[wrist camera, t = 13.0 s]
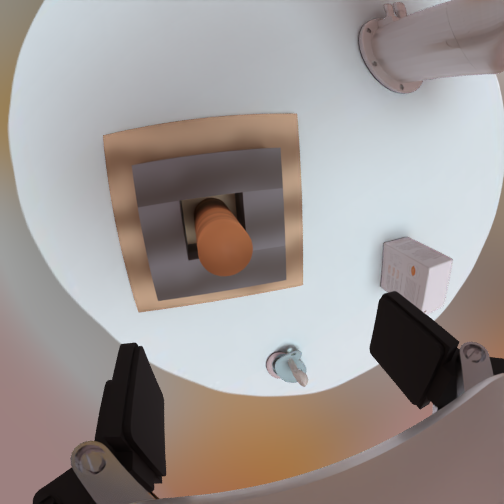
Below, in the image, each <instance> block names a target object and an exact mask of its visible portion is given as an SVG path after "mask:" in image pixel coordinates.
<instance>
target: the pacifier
mask: <svg viewBox="0 0 504 504" xmlns="http://www.w3.org/2000/svg"><path fill="white" fill-rule="evenodd" d="M293 353H295V354H293ZM301 355H302V353H301V352H300V351H299V350H296V351H292V352H289V353H283V352H277V353H274V354H272V355H271V356H270V357H269V359H268V361H267V370H268V372H269V373H270V374H271V375H272V376H273V377H275V378H281V379H282V380H284V381H286V382H291V383H295V382H298V383H299V384H300V385H302V386H303V387H305V386H306V385H307V383H308V378H307V375H306V367H305V365H304V363H303V362H302V361H300V360H299V359H300V357H301ZM278 357H280V358H279V359H278V360H277V361H276V363H275V371H276V372H275V371H274V370H273V369H272V364H273V361H274V360H275V359H276V358H278ZM299 368H300V369H301V370H298V369H299Z"/></svg>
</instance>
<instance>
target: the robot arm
mask: <svg viewBox="0 0 504 504" xmlns="http://www.w3.org/2000/svg"><path fill="white" fill-rule="evenodd" d="M393 7H394V10H393ZM393 7H392V5H391V4H384V9H385V12H386V15H387V16H386V17H385V19H383V18H377V19H373V20H371V21H369V22H367V23H366V24H365V25H364V26H363V27H362V29H361V31H360V35H359V45H360V50H361V53H362V57H363V59H364V61H365V63H366V65H367V67H368V68H369V70H370V71H371V73H372V74H373V75H374V76H375V78H376V79H377V80H378V81H379V82H380V83H382V84H383V85H384V86H386V87H387V88H388V89H390V90H392V91H395V92H398V93H410V92H413V91H416V90H417V89H418V88H419V87H420V86H421V84H422V82H423V80H428V79H436V78H444V77H454V76H466V75H482V74H497V73H501V72H503V71H504V0H451V1H448V2H445V3H441V4H438V5H435V6H432V7H429V8H426V9H424V10H421V11H418V12H415V13H413V14H410V15H408V16H407V12H406V8H405V5H404V4H403V3H400V2H396V3H394V4H393ZM394 11H395V14H396V16H397V17H396V16H394ZM458 344H459V341H458V340H456V339H455V338H454V337H453V336H452V335H450V334H449V333H448V332H447V331H445V329H443V328H442V327H441V326H439V325H438V324H437V323H436V322H435V321H434V320H432V319H431V318H430V317H429V316H427V315H426V314H425V313H424V312H422V311H421V310H420V309H419V308H417V307H416V306H415V305H414V304H412V303H411V302H410V301H409V300H407V299H406V298H405V297H403V296H402V295H401V294H400V293H398V292H397V291H392V292H389V293H385V294H383V295H382V297H381V299H380V300H379V303H378V309H377V315H376V320H375V325H374V330H373V335H372V339H371V344H370V353H371V355H372V356H373V357H374V358H375V359H376V361H377V362H378V363H379V364H380V365H381V367H382V368H383V369H384V370H385V371H386V373H387V374H388V375H389V376H390V377H391V379H392V380H393V381H394V382H395V383H396V385H397V386H398V387H399V388H400V389H401V391H402V392H403V393H404V394H405V395H406V397H407V398H408V399H409V400H410V402H412V404H414V405H417V407H418V408H419V409H422V408H423V407H425V406H426V405H428V404H429V403H430V401H431V402H432V403H433V414H432V415H431V416H429V417H428V418H426V419H424V420H423V421H421V422H419V423H418V424H416V425H414V426H413V427H411V428H409V429H407V430H406V431H404V432H402V433H400V434H398V435H396V436H394V437H393V438H391V439H389V440H387V441H385V442H383V443H381V444H379V445H377V446H375V447H372V448H371V449H368V450H366V451H364V452H361V453H359V454H357V455H354V456H352V457H350V458H347V459H345V460H342V461H340V462H337V463H334V464H332V465H329V466H326V467H323V468H320V469H317V470H315V471H311V472H309V473H305V474H302V475H299V476H296V477H292V478H288V479H285V480H281V481H277V482H273V483H269V484H265V485H260V486H255V487H250V488H244V489H239V490H233V491H227V492H221V493H213V494H205V495H196V496H185V497H176V498H163V499H159V498H158V497H157V496H156V495H155V494H154V493H153V492H152V491H153V490H154V483H162V476H166V460H165V436H164V398H163V394H162V392H161V390H160V387H159V385H158V383H157V381H156V378H155V376H154V374H153V371H152V369H151V366H150V364H149V361H148V359H147V356H146V354H145V351H144V349H143V347H142V346H138V345H137V343H127V344H121V345H120V348H119V352H118V357H117V360H116V365H115V369H114V374H113V378H112V380H108V381H107V382H106V384H105V388H104V392H103V397H102V402H101V407H100V412H99V417H98V424H97V429H96V434H95V441H86V442H83V443H81V444H80V445H78V446H77V447H76V448H75V449H74V451H73V452H72V455H71V466H72V468H70V469H69V470H67V471H66V472H65V473H63V474H62V475H61V476H59V477H58V478H56V479H55V480H53V481H52V482H50V483H49V484H47V485H46V486H44V487H43V488H41V489H40V490H39V491H38V492H37V493H36V494H35V496H34V498H33V504H504V359H502V358H493V357H489V354H488V351H487V350H486V349H485V347H483V346H482V345H480V344H478V343H476V342H467V343H464V344H463V345H461V348H460V349H458V348H457V346H458Z"/></svg>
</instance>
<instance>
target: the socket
mask: <svg viewBox="0 0 504 504" xmlns="http://www.w3.org/2000/svg"><path fill="white" fill-rule="evenodd" d="M103 141H104V151H105V159H106V167H107V175H108V182H109V188H110V195H111V201H112V206H113V212H114V217H115V222H116V227H117V232H118V237H119V241H120V246H121V250H122V254H123V258H124V262H125V266H126V270H127V274H128V278H129V281H130V285H131V288H132V292H133V295H134V299H135V302H136V305H137V309H138V312H145V311H153V310H160V309H167V308H174V307H181V306H187V305H194V304H200V303H207V302H213V301H219V300H225V299H231V298H237V297H242V296H248V295H254V294H259V293H265V292H270V291H275V290H280V289H286V288H291V287H296V286H301V285H303V225H302V191H301V168H300V150H299V134H298V120H297V114H251V115H233V116H220V117H209V118H200V119H191V120H183V121H176V122H169V123H163V124H157V125H151V126H145V127H140V128H135V129H130V130H125V131H121V132H116V133H112V134H108V135H103ZM206 198H217V199H220V200H221V201H223V202H224V203H225V204H226V206H227V207H228V208H229V210H230V211H231V212H232V214H233V215H234V216H235V218H236V219H237V220H238V222H239V223H240V224H241V226H242V227H243V228H244V230H245V231H246V232H247V234H248V235H249V237H250V238H251V241H252V245H253V253H252V257H251V260H250V261H249V263H248V265H247V266H246V267H245V268H244V269H243V270H242V271H240V272H239V273H237V274H234V275H231V276H218V275H214V274H212V273H210V272H209V271H207V270H206V269H205V268H204V267H203V265H202V264H201V262H200V260H199V256H198V249H197V241H196V232H195V224H194V210H195V208H196V206H197V205H198V204H199V203H200V202H201V201H202V200H204V199H206Z"/></svg>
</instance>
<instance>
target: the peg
mask: <svg viewBox="0 0 504 504" xmlns="http://www.w3.org/2000/svg"><path fill="white" fill-rule="evenodd" d="M194 224H195V232H196V241H197V249H198V256H199V260H200V262H201V264H202V265H203V267H204V268H205V269H206V270H207V271H209V272H210V273H212V274H214V275H218V276H231V275H234V274H237V273H239V272H240V271H242V270H243V269H244V268H245V267H246V266H247V265H248V263H249V261H250V260H251V257H252V253H253V245H252V241H251V238H250V237H249V235H248V234H247V232H246V231H245V230H244V228H243V227H242V226H241V224H240V223H239V222H238V220H237V219H236V218H235V216H234V215H233V214H232V212H231V211H230V210H229V208H228V207H227V206H226V204H225V203H224V202H223V201H221V200H220V199H217V198H206V199H204V200H202V201H201V202H200V203H199V204H198V205H197V206H196V208H195V210H194Z"/></svg>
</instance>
